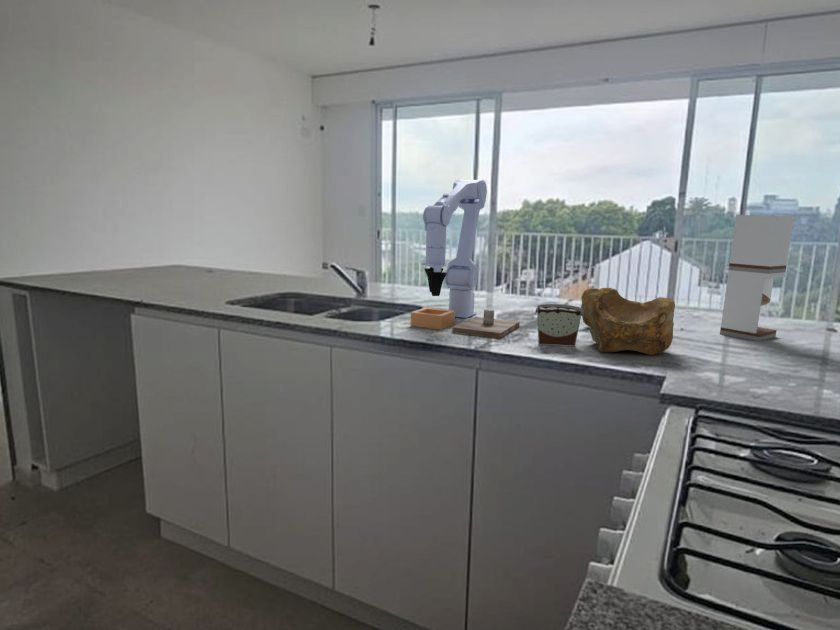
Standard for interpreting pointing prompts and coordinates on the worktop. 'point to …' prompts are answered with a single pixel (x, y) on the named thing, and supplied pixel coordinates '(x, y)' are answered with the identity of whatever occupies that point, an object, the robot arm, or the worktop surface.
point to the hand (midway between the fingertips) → (434, 293)
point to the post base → (486, 326)
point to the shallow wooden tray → (433, 318)
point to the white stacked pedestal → (754, 272)
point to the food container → (558, 324)
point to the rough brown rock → (628, 321)
